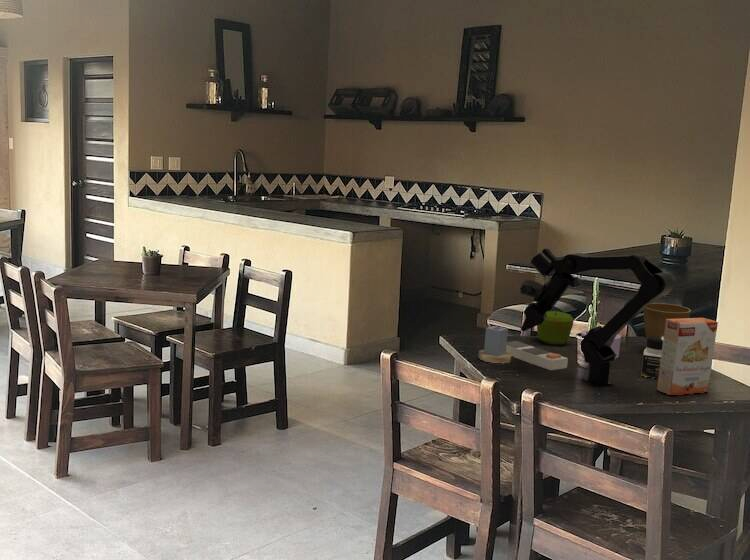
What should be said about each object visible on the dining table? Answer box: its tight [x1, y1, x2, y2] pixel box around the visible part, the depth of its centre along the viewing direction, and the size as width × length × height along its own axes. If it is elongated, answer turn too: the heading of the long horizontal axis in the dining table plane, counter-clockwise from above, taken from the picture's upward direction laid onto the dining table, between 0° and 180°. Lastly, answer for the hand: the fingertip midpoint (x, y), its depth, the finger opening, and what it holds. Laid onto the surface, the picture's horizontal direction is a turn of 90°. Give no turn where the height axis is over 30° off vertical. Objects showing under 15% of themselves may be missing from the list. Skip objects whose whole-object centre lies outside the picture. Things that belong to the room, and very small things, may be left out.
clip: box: [580, 329, 622, 360], centre depth 265 cm, size 20×12×7 cm, turn 163°
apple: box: [536, 310, 574, 346], centre depth 275 cm, size 12×12×11 cm
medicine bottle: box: [640, 336, 664, 379], centre depth 240 cm, size 7×7×12 cm
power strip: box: [506, 340, 569, 371], centre depth 251 cm, size 22×7×4 cm, turn 33°
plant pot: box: [642, 302, 692, 339], centre depth 267 cm, size 15×15×16 cm
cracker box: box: [656, 317, 719, 396], centre depth 223 cm, size 14×6×21 cm, turn 114°
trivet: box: [478, 349, 512, 365], centre depth 249 cm, size 10×10×2 cm
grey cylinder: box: [483, 325, 509, 357], centre depth 248 cm, size 5×5×8 cm
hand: (526, 324), depth 244 cm, fingers open, 9 cm apart
